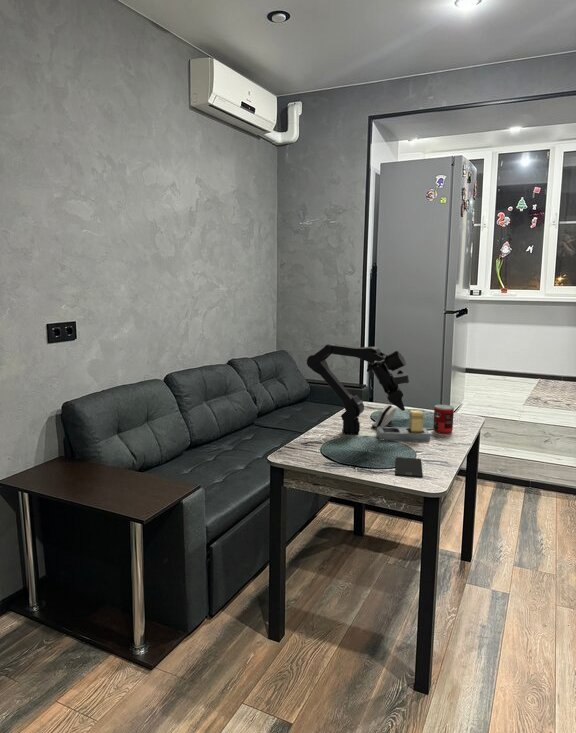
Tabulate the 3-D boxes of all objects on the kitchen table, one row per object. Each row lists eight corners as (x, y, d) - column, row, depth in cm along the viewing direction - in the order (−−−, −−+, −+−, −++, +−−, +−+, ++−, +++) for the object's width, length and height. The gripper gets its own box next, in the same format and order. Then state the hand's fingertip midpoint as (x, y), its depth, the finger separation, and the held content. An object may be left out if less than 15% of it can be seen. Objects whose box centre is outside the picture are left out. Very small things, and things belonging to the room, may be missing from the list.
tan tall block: (410, 439, 218) (412, 413, 216) (408, 436, 222) (409, 410, 221) (422, 439, 218) (423, 413, 216) (419, 436, 222) (420, 410, 221)
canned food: (433, 428, 235) (435, 403, 233) (452, 430, 232) (454, 405, 230) (432, 432, 227) (433, 407, 226) (452, 434, 225) (453, 409, 223)
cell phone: (395, 476, 177) (395, 473, 177) (395, 459, 194) (395, 456, 194) (422, 478, 175) (422, 476, 175) (420, 461, 193) (421, 458, 192)
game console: (381, 419, 249) (389, 400, 246) (390, 423, 247) (398, 404, 244) (370, 427, 234) (378, 407, 231) (380, 432, 232) (388, 412, 230)
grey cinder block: (380, 440, 216) (380, 433, 215) (376, 434, 225) (377, 427, 224) (429, 441, 216) (430, 433, 215) (424, 434, 224) (425, 427, 224)
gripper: (404, 371, 207) (424, 404, 210) (397, 360, 225) (415, 390, 228) (379, 385, 209) (398, 417, 212) (374, 373, 227) (392, 403, 230)
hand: (402, 406), depth 220 cm, fingers open, 9 cm apart
